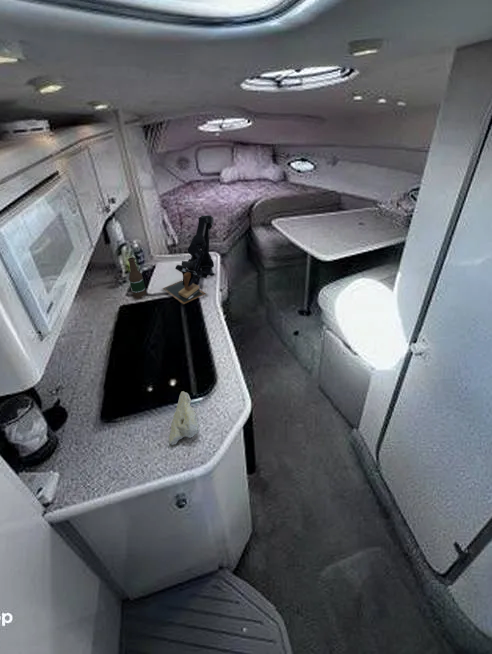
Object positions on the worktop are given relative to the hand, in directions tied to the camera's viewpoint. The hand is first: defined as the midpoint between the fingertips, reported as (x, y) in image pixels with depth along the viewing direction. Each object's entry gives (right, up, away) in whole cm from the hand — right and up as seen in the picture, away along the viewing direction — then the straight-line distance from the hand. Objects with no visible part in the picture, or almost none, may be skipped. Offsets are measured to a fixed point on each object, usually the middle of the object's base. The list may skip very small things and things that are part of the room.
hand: (185, 285), depth 185 cm
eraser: (+1, -4, +5) cm, 7 cm away
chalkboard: (-3, -4, +9) cm, 11 cm away
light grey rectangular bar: (+2, -7, +2) cm, 7 cm away
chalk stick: (+4, -4, +6) cm, 9 cm away
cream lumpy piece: (+12, -47, -69) cm, 84 cm away
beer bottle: (-28, -6, +9) cm, 30 cm away
